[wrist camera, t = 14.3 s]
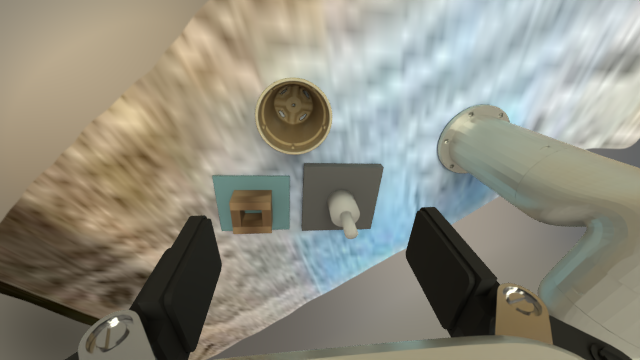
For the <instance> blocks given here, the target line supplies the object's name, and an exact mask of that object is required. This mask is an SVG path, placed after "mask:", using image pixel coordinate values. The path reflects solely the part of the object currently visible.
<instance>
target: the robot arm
mask: <svg viewBox="0 0 640 360" xmlns="http://www.w3.org/2000/svg"><path fill="white" fill-rule="evenodd" d="M438 155H439V159H440V161H441V163H442V164H443V165H444V166H445V167H446V168H447V169H449V170H451V171H453V172H456V173H470V174H471V175H472V176H474V177H475V178H476V179H478V180H479V181H481V182H482V183H483V184H485V185H486V186H488V187H489V188H490V189H492V190H493V191H494V192H496V193H497V194H499V195H500V196H501V197H503V198H504V199H506V200H507V201H508V202H510V203H511V204H513V205H514V206H515V207H517V208H518V209H520V210H521V211H522V212H524V213H525V214H527V215H528V216H529V217H531V218H533V219H535V220H537V221H539V222H542V223H546V224H549V225H555V226H569V227H587V230H586V232H585V234H584V235H583V236H582V237H581V238H580V240H579V241H578V242H577V244H576V245H575V246H574V247H573V248H572V249H571V250H570V251H569V252H568V253H567V254H566V255H565V256H564V257H563V258H562V259H561V260H560V261H559V262H558V263H557V264H556V265H555V267H553V268H552V270H551V271H550V272H549V273H548V274H547V275H546V276H545V278H544V279H543V280H542V281H541V283H540V285H539V288H538V296H536V295H535V294H534V293H532V292H531V291H529V290H528V289H526V288H524V287H522V286H519V285H516V284H512V283H504V284H501V285H500V284H499V283H498V282H497V277H496V276H495V275H494V274H493V273H492V272H491V271H490V269H489V268H488V267H487V266H486V265H485V264H484V263H483V262H482V260H481V259H480V258H479V257H478V256H477V255H476V253H475V252H474V251H473V250H472V249H471V248H470V246H469V245H468V244H467V243H466V242H465V241H464V240H463V239H462V237H461V236H460V235H459V234H458V233H457V232H456V230H455V229H454V228H453V227H452V226H451V225H450V223H449V222H448V221H447V220H446V219H445V218H444V217H443V215H442V214H441V213H440V212H439V211H438V210H437V209H436V208H435V207H423V208H421V209H420V211H417V213H416V217H415V220H414V224H413V228H412V231H411V235H410V239H409V242H408V246H407V250H406V259H407V261H408V263H409V265H410V267H411V268H412V270H413V272H414V274H415V276H416V277H417V280H418V282H419V283H420V285H421V287H422V289H423V291H424V293H425V295H426V297H427V299H428V301H429V302H430V305H431V306H432V308H433V310H434V312H435V314H436V316H437V318H438V320H439V322H440V324H441V325H442V327H443V328H444V329H447V331H448V332H449V334H450V336H451V338H440V339H428V340H416V341H405V342H393V343H381V344H370V345H359V346H348V347H338V348H326V349H315V350H305V351H295V352H284V353H273V354H263V355H254V356H243V357H234V358H224V359H217V360H640V168H637V167H634V166H631V165H628V164H625V163H621V162H619V161H616V160H613V159H609V158H606V157H604V156H600V155H598V154H595V153H592V152H589V151H587V150H584V149H581V148H578V147H575V146H573V145H570V144H567V143H564V142H562V141H559V140H556V139H553V138H551V137H548V136H545V135H542V134H540V133H537V132H534V131H531V130H528V129H526V128H523V127H520V126H517V125H515V124H512V123H510V121H509V118H508V116H507V114H506V113H505V112H504V111H503V110H502V109H500V108H498V107H495V106H492V105H476V106H473V107H470V108H468V109H466V110H464V111H462V112H461V113H459V114H458V115H457V116H455V117H454V118H453V119H452V120H451V121H450V122H449V124H448V125H447V126H446V128H445V129H444V131H443V133H442V134H441V137H440V140H439V144H438ZM221 266H222V263H221V259H220V254H219V250H218V246H217V242H216V238H215V234H214V230H213V226H212V222H211V219H207V217H206V216H190V217H189V219H188V220H187V222H186V224H185V225H184V227H183V229H182V230H181V232H180V234H179V235H178V237H177V239H176V240H175V242H174V244H173V245H172V247H171V248H169V249H167V250H166V251H165V252H164V254H163V255H162V257H161V259H160V260H159V262H158V264H157V265H156V267H155V268H154V270H153V272H152V273H151V275H150V276H149V278H148V280H147V281H146V283H145V285H144V286H143V288H142V289H141V291H140V293H139V294H138V296H137V297H136V299H135V301H134V302H133V304H132V306H131V307H130V309H129V310H122V311H118V312H114V313H112V314H110V315H107V316H105V317H104V318H102V319H101V320H99V321H98V322H96V323H95V324H94V325H93V326H92V327H91V328H90V329H89V330H88V331H87V332H86V334H85V335H84V336H83V337H82V339H81V342H80V344H79V348H78V352H76V353H75V354H73V355H72V356H70V357H68V358H67V359H65V360H188V358H189V355H190V352H194V351H195V349H196V347H197V344H198V341H199V337H200V334H201V331H202V328H203V325H204V322H205V319H206V316H207V312H208V309H209V306H210V303H211V300H212V297H213V294H214V291H215V287H216V284H217V281H218V278H219V275H220V272H221ZM464 336H465V337H464Z"/></svg>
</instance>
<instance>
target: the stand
mask: <svg viewBox="0 0 640 360" xmlns="http://www.w3.org/2000/svg"><path fill="white" fill-rule="evenodd" d="M383 168H384V167H383V166H382V165H381V164H336V163H304V177H303V205H302V231H308V230H344V233H345V236H346V238H348V239H353V238H355V237H357V235H358V231H357V229H371V224H372V220H373V215H374V210H375V206H376V201H377V196H378V192H379V187H380V182H381V178H382V173H383Z"/></svg>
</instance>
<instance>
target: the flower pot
mask: <svg viewBox="0 0 640 360" xmlns="http://www.w3.org/2000/svg"><path fill="white" fill-rule="evenodd" d="M285 89H287V91H285V93H283V94H281V92H282V91H283V90H285ZM304 90H305V91H306V92H307V93H308V94H309V98H307V96H306V95H305V94H304V93H303V91H304ZM293 104H295V106H292V105H293ZM280 110H281V111H282V112H283V114H284V115H285V117H282V116H281V115H280V113H279V111H280ZM304 114H306V116H305V117H304V118H303V119H302V120H300V117H302V116H303V115H304ZM255 120H256V125H257V129H258V131H259V133H260V135H261V136H262V138H263V139H264V141H265V142H266V143H267V144H268V145H270V146H271V147H272V148H274V149H275V150H277V151H280V152H283V153H286V154H292V155H297V154H304V153H307V152H309V151H312V150H313V149H315V148H316V147H318V146H319V145H320V144H321V143H322V142H323V141H324V140H325V138H326V137H327V135H328V133H329V131H330V128H331V124H332V110H331V106H330V103H329V101H328V99H327V97H326V96H325V94H324V93H323V92H322V91H321V90H320V89H319V88H318V87H317V86H316V85H314V84H313V83H311V82H309V81H307V80H304V79H300V78H285V79H281V80H279V81H276V82H274V83H273V84H271V85H270V86H268V87H267V88H266V89H265V90H264V92H263V93H262V94H261V96H260V97H259V100H258V102H257V105H256V111H255Z"/></svg>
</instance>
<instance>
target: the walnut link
mask: <svg viewBox="0 0 640 360" xmlns="http://www.w3.org/2000/svg"><path fill="white" fill-rule="evenodd" d="M229 205H230V213H231V220H232V227H233V234H252V233H272V223H273V209H272V190H234V191H233V194H232V197H231V199H230V202H229ZM245 210H262V213H245Z"/></svg>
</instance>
